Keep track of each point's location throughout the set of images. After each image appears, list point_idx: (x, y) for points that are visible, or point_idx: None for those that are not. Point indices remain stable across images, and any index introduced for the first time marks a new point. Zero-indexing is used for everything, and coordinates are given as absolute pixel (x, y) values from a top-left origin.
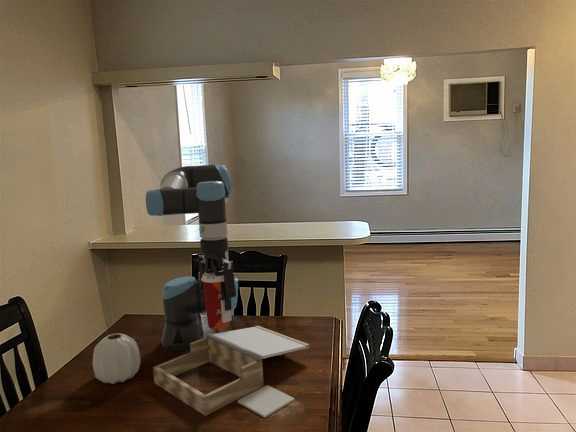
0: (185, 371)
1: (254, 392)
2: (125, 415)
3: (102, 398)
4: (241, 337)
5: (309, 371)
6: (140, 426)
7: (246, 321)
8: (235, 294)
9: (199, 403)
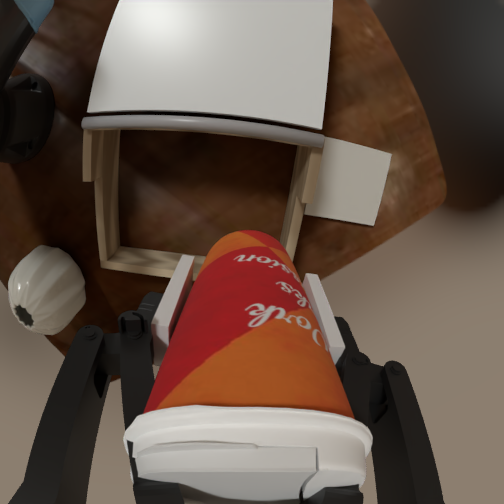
0: (117, 189)
1: None
2: None
3: (107, 318)
4: (160, 56)
5: (354, 42)
6: None
7: None
8: (405, 374)
9: None
